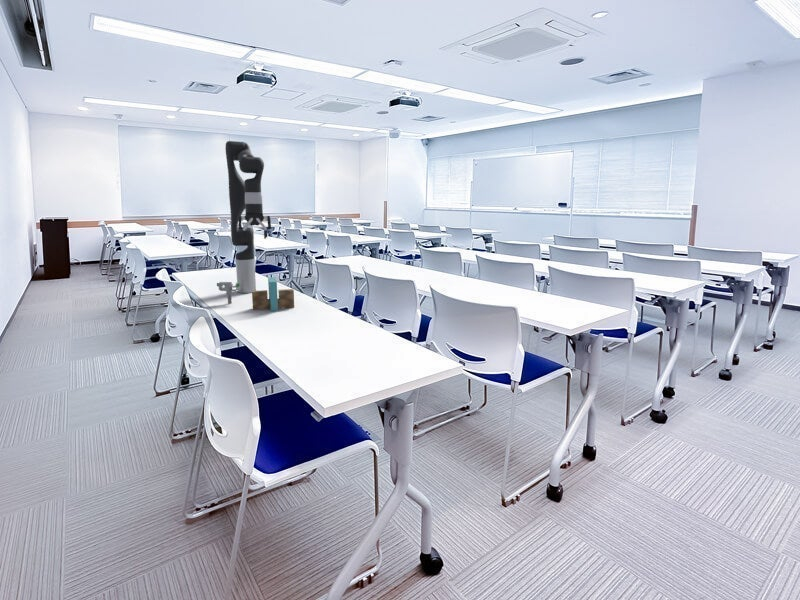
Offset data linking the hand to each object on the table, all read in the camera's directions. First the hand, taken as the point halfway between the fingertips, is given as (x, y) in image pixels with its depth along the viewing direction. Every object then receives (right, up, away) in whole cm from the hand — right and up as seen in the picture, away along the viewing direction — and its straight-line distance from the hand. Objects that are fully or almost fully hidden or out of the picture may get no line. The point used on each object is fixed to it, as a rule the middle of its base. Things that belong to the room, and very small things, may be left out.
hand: (255, 238), depth 219 cm
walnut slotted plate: (+9, -32, -4) cm, 33 cm away
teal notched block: (+9, -32, -4) cm, 33 cm away
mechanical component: (-13, -30, +3) cm, 33 cm away
